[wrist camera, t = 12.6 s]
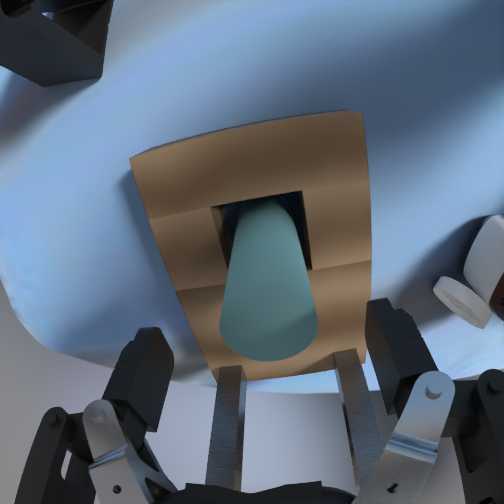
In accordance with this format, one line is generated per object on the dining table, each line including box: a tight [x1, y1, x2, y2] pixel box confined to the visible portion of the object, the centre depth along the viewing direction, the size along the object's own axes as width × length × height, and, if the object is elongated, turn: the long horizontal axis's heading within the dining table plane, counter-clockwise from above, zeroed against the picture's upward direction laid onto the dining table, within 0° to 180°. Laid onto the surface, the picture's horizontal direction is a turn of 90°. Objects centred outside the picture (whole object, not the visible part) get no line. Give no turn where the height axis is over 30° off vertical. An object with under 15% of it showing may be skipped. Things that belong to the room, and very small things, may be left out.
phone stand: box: [0, 0, 114, 87], centre depth 9 cm, size 9×6×12 cm, turn 173°
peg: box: [219, 194, 318, 361], centre depth 17 cm, size 4×4×12 cm
